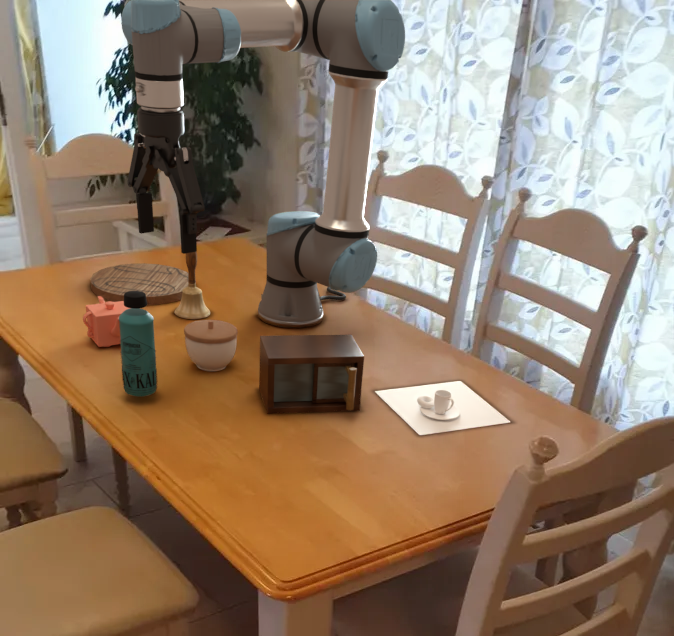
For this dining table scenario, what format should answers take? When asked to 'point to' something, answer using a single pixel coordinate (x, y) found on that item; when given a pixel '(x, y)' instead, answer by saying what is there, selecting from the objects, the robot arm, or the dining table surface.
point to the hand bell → (192, 294)
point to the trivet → (140, 282)
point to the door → (334, 383)
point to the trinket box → (210, 343)
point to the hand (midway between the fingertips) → (167, 242)
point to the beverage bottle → (137, 346)
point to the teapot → (104, 322)
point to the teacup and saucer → (441, 407)
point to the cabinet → (303, 370)
